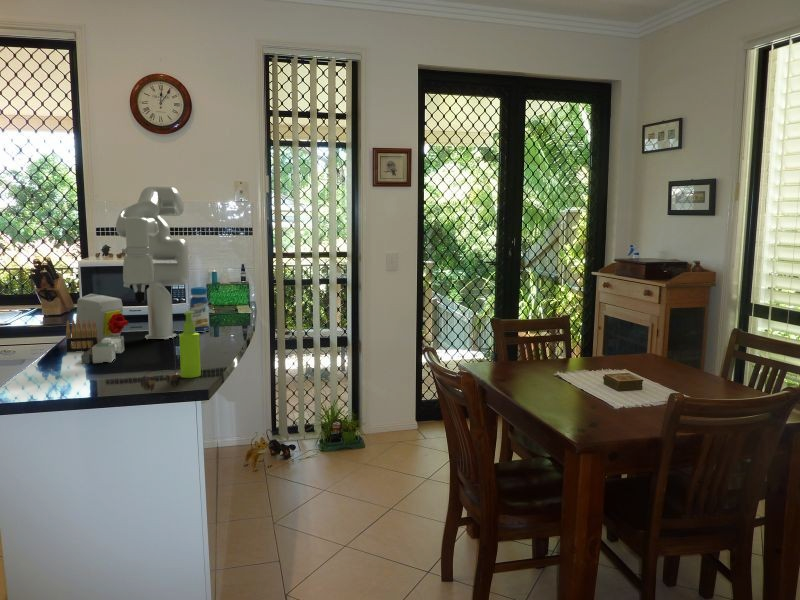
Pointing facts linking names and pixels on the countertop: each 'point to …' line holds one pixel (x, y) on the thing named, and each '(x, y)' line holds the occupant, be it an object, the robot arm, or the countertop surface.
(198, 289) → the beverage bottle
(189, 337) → the soap dispenser
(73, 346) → the ammunition clip
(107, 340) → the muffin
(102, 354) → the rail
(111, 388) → the countertop surface
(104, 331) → the electrical switch box
